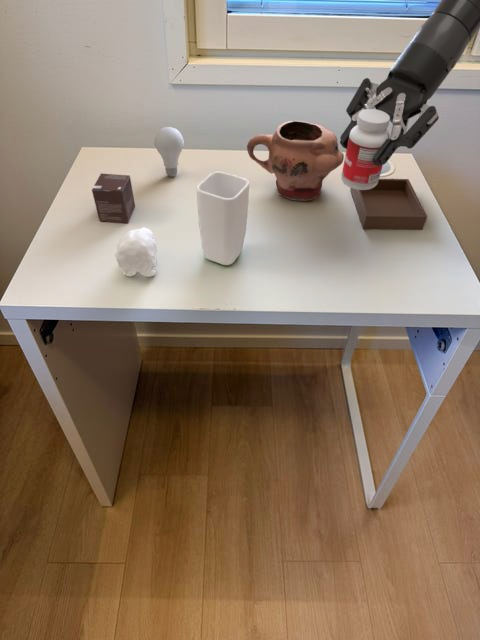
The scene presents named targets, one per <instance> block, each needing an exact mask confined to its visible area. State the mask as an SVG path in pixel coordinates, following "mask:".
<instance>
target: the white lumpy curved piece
mask: <svg viewBox="0 0 480 640" xmlns="http://www.w3.org/2000/svg"><path fill="white" fill-rule="evenodd" d="M114 255H115V259H116V260H115V261H116V262H117V264H118V267H119V268H120V269H121V270H122V274H123V275H124V276H126V277H133V276H135V275H137V273H139V274H140V275H142V276H143V277H147V278H150V277H153V276H156V274H157V270H155V269H153V267H156V266H157V244H156V241H155V236H154V233H153V231H152V230H151V229H150V228H148V227H144V226H141V227H139V228H134V229H130V230H129V231H127V232H126V233H125V234H124V235H123V236H122V237H120V239H119V241H118V243H117V246H116V252H115V254H114Z"/></svg>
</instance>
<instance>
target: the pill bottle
mask: <svg viewBox="0 0 480 640" xmlns="http://www.w3.org/2000/svg"><path fill="white" fill-rule="evenodd" d="M389 120H390V116H389V115H388V114H387V113H385V112H383V111H380V110H376V109H375V108H374V109H366V110H363V111H361V112H360V113H359V115H358V119H357V125H356V126H355V127H353V128H352V130H351V132H350V135H349V140H348V145H347V149H345V155H344V159H343V165H342V170H341V177H340V178H341V181H342V183H343V184H344V185H345V186H347V187H348V188H350V189H351V188H353V189H357V190H369V189H372V188H373V187H375V186H376V185H377V183H378V181H379V179H380V178H381V174H382V169H383V166H384V165H383V164H382V165H381V166H380V167H378V166H376V165H375V164H374V163H373V161H372V159H373V157H374V156H375V154H376V153H377V152H378V150H379V149H380V148H381V146H382V145H383V143H384V142H385V141H386V139H390V136H391V134H390V132H389V130H388V128H389V125H390V121H389Z"/></svg>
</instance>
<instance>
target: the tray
mask: <svg viewBox="0 0 480 640" xmlns="http://www.w3.org/2000/svg"><path fill="white" fill-rule="evenodd" d="M350 194H351V197H352V200H353V203H354V206H355V209H356V212H357V215H358V219H359V222H360V225H361V227H362V229H363V230H411V231H413V230H415V231H422V230H423V229H424V226H425V224H426V222H427V219H428V215H427V213H426V211H425V209H424V206H423V205H422V203H421V201H420V199H419V197H418V195H417V193H416V191H415V189H414V187H413V185H412V183H411V181H410V179H409V178H379V181H378V183H377V185H376V186H375V187H373V188H372V189H369V190H357V189H353V188H350Z"/></svg>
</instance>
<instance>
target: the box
mask: <svg viewBox="0 0 480 640" xmlns="http://www.w3.org/2000/svg"><path fill="white" fill-rule="evenodd" d="M91 193H92V196H93V200H94V204H95V205H94V206H95V208H96V212H97V217H98V220H99V222H112V223H124V224H128V223H129V222H130V219H131V217H132V215H133V213H134V210H135V207H136V203H135V198H134V197H135V196H134V191H133V185H132V179H131V175H128V174H115V173H113V174H112V173H100V174H99V176H98V177H97V180H96V182H95V183H94V185H93V187H92V188H91Z"/></svg>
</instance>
